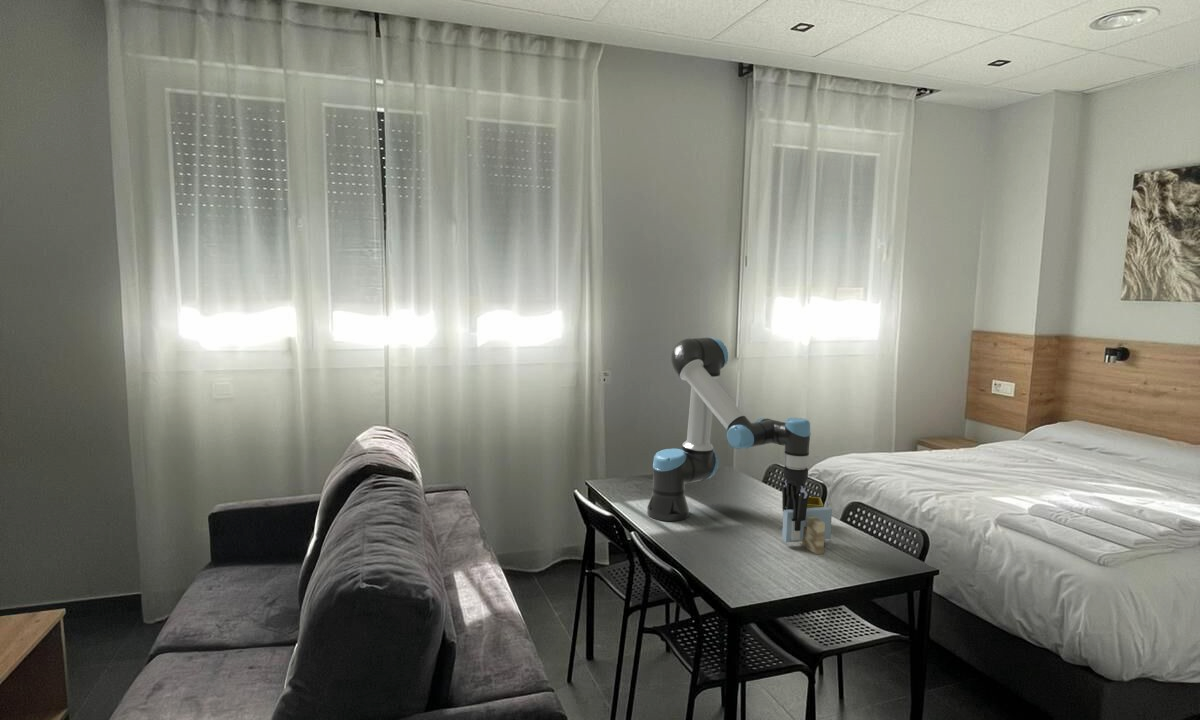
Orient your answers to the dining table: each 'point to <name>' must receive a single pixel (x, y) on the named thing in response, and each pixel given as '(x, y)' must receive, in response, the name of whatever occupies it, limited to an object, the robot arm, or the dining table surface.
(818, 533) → the tan wooden block
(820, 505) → the flower pot
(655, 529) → the dining table surface
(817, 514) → the pale blue upright slab
